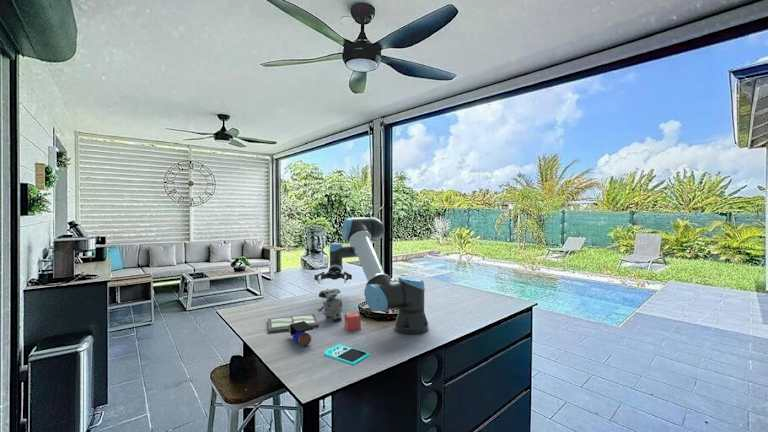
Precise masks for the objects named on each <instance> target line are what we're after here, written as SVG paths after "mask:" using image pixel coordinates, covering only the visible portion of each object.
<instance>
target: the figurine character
mask: <svg viewBox="0 0 768 432" xmlns="http://www.w3.org/2000/svg"><path fill="white" fill-rule="evenodd" d="M288 329H289V331H288V333H289V334H290V337H292V339H293V340H295V341H298V344H299V345H301V346H302V347H305V346H308V345H310V344H311V342H312V336H311V334H310V333H308V332H309V331H312V330H314V328H313V327H311V326H310V325H309V324H307V323H306V322H305V321H302V322H298V323H293V324H290V325H289V326H288ZM307 331H308V332H307Z"/></svg>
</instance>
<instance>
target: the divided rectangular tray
mask: <svg viewBox="0 0 768 432" xmlns="http://www.w3.org/2000/svg"><path fill="white" fill-rule="evenodd" d="M302 321H305V322H306V323H307V324H309V325H310V326H311V327H313V329H314V328H319V327H320V324H319V321H318V319H317V317H316V316H315V313H308V314H299V315H292V316H290V315H289V316H282V317H273V318H268V319H267V322H268V323H267V324H268V325H267V326H268V329H267V330H268V334H275V333H283V332H289V329H288V326H289V325H290V324H293V323H298V322H302Z"/></svg>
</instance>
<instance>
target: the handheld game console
mask: <svg viewBox="0 0 768 432" xmlns="http://www.w3.org/2000/svg"><path fill="white" fill-rule="evenodd" d="M323 353H324V356H326V357H328V358H332V359H335V360H337V361H340V362H343V363H345V364H349V365H351V366H354V365H356V364H358V363H360V362H361V361H363V360H365V359H366V358H368V357H369V356H371V354H370V353H369V352H366V351H363V350H360V349H357V348H353V347H350V346H347V345H344V344H341V343H338V344H335V345H334V346H332V347H329V348H328V349H326V350H325V351H324V352H323Z"/></svg>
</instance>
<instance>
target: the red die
mask: <svg viewBox="0 0 768 432" xmlns="http://www.w3.org/2000/svg"><path fill="white" fill-rule="evenodd" d="M361 323H362V321H361V315H360V313H359V312H358V311H354V312H353V311H352V312H345V313H344V327H345V330H347V331H355V330H361V328H362V327H361V326H362V325H361Z"/></svg>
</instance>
